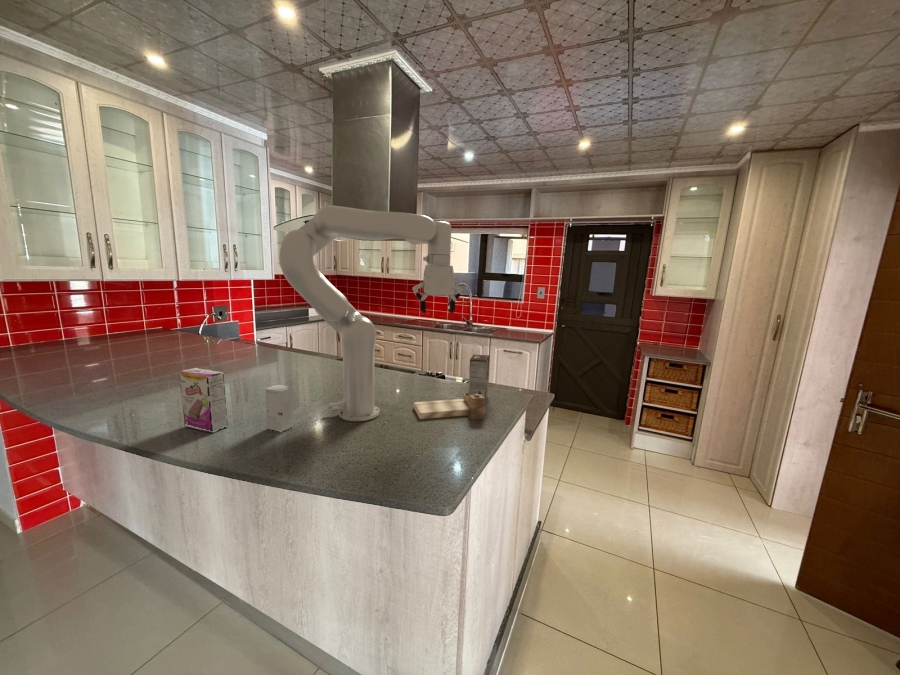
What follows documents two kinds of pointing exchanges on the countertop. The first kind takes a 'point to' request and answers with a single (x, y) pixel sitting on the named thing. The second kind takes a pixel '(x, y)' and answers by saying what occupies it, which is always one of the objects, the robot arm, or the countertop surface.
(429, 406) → the board
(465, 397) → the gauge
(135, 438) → the countertop surface
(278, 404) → the skincare box
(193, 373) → the candy bar box
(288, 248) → the robot arm
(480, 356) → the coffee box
